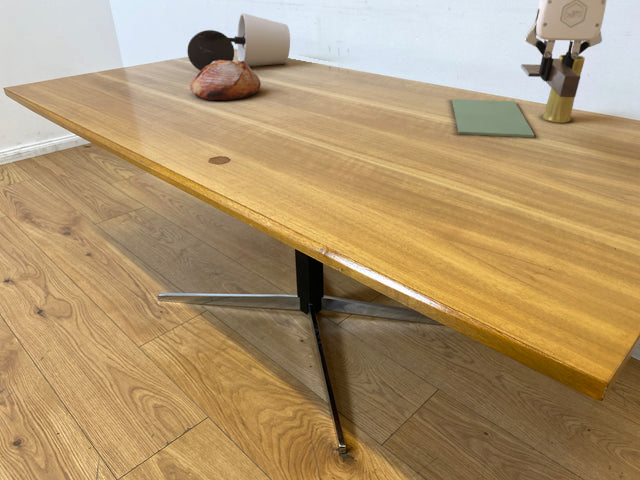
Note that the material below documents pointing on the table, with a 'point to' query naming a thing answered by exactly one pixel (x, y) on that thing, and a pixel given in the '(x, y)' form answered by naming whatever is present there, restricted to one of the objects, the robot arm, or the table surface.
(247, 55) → the light fixture
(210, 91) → the bread
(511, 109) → the mat
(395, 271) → the table surface
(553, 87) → the spatula
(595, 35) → the robot arm
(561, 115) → the vase
